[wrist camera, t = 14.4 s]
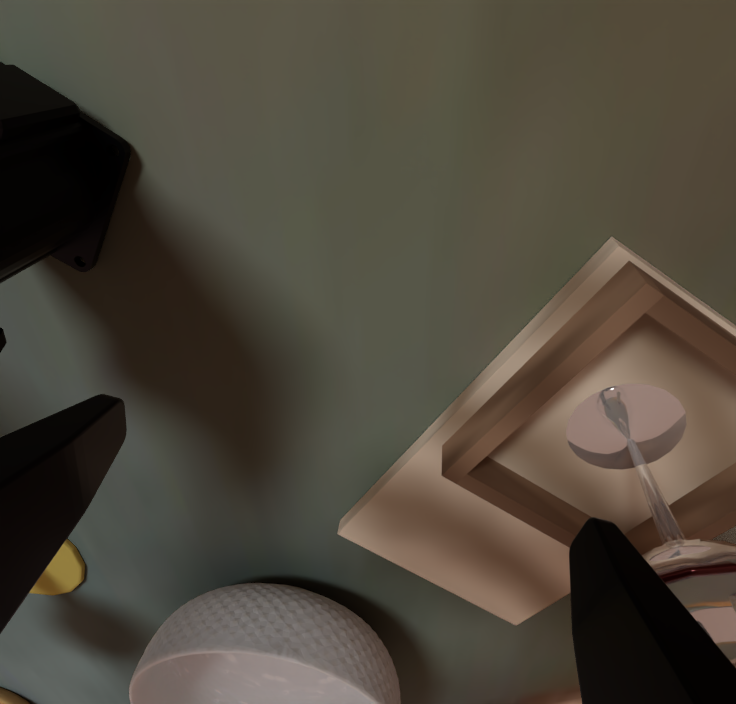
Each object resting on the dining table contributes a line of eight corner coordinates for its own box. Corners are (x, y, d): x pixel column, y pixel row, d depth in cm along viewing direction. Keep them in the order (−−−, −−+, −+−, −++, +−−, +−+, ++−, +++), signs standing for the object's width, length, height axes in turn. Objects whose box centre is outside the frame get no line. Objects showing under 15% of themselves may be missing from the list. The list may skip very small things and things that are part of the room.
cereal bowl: (333, 699, 43) (314, 807, 37) (149, 617, 40) (96, 721, 34) (457, 615, 34) (459, 739, 28) (233, 501, 31) (181, 614, 25)
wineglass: (669, 494, 24) (821, 818, 14) (527, 469, 25) (579, 768, 15) (741, 381, 21) (1013, 709, 11) (573, 353, 21) (684, 645, 11)
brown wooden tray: (514, 610, 33) (519, 658, 30) (340, 519, 30) (330, 564, 28) (842, 402, 22) (893, 451, 19) (611, 236, 19) (635, 267, 17)
